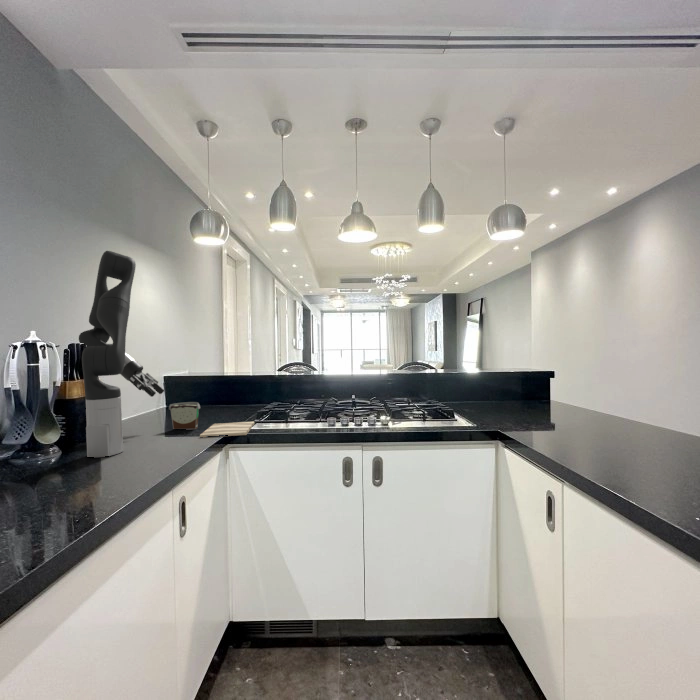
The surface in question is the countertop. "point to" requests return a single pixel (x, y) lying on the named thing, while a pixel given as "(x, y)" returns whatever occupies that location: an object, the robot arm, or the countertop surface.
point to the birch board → (228, 429)
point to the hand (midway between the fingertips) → (158, 393)
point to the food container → (185, 415)
